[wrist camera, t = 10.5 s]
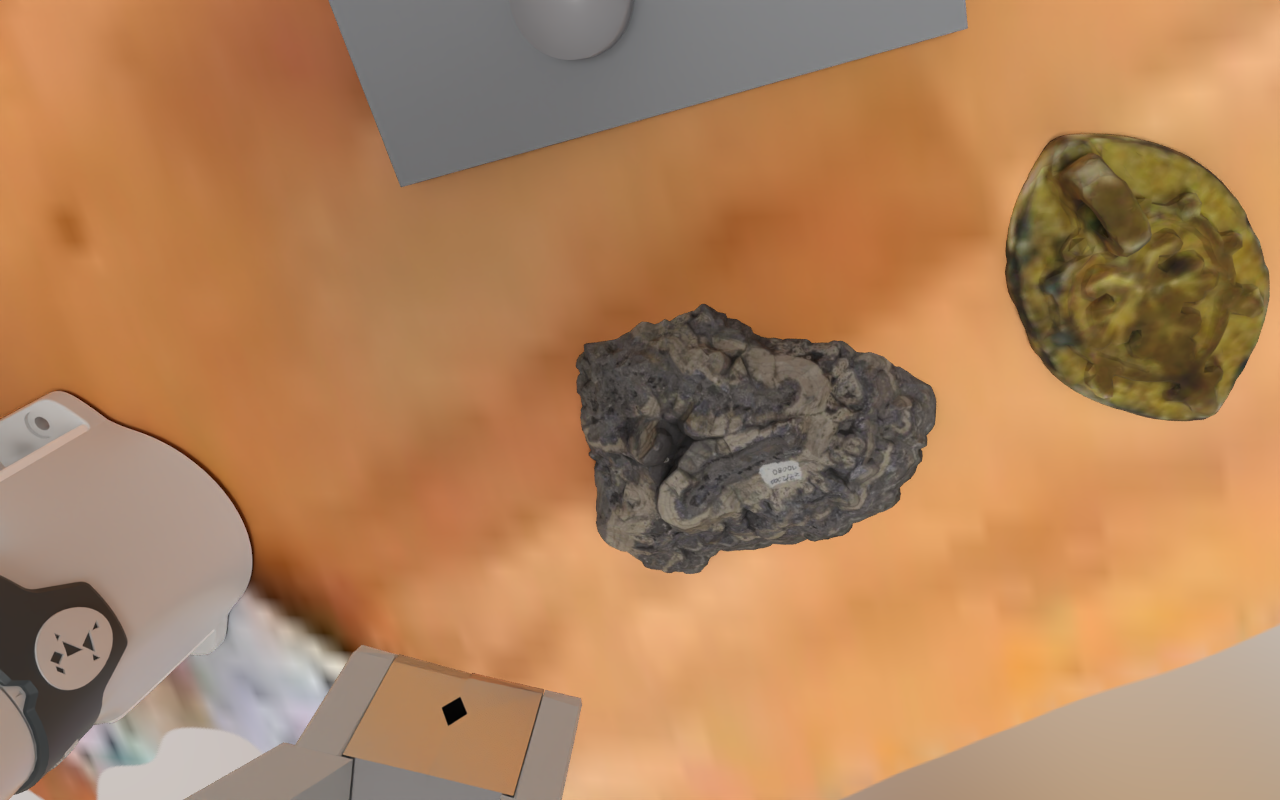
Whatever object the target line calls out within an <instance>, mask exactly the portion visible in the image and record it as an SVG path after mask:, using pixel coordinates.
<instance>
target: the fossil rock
mask: <svg viewBox="0 0 1280 800" xmlns="http://www.w3.org/2000/svg"><path fill="white" fill-rule="evenodd" d="M576 367H577V368H578V369H579V372H580V374H579V376H578V378H577V382H576V383H577V393H578V394H579V395H580V396H581V402H582V408H581V425H582V430H583V432H584V434H585V438H586V441H587V443H588V445H589V447H590V449H591V451H590V452H589V456H590V457H591V458H592V459H594V460H595V461H596V464H595V468H594V469H595V485H596V487H597V500H596V511H597V521H596V524H597V529H598V532H599V534H600V536H601V537H602V539H603V540H604V541H605V542H606V543H607V544H608V545H610V546H612V547H614V548H616V549H618V550H620V551H627V552H628V553H630V554H631V555H633V556H634V557H635V558H637V559H638V560H641V561H642V562H643V564H644V566H645V567H647V568H650V569H656V570H662V571H664V572H666V573H672V572H675V571H677V572H684V573H685V574H694V573H698V572H701V570H702V569H703V568H704V567H705V566H706V565H707V564H708V561H709V559H710V557H712V556H714V555H716V554H717V553H718V551H720V550H723V551H734V550H756V549H758V548H765V547H768V546H771V545H772V544H785V545H786V544H797V543H799V542H802V541H804V540H806V539H809V540H811V541H818V540H823V539H830V538H833V537H837V536H843V535H844V534H846V533H848V532H849V531H850V530H851V528H852V524H853V523H856V522H860V521H862V520H864V519H866V518H868V517H871V516H873V515H876V514H877V513H879V512H883V511H886V510H888V509H890V508H892V507H893V506H894V505H895V504H896V503H897V502H898V501H899V500H900V495H901V493H900V487H901V486H902V485H903V484H904V483H905V482H906V481H908V480H909V479H911V477H912V476H913V475H914V473H915V471H916V468H917V465H918V464H919V463H920V462H922V456H923V455H922V451H921V448H923V447H925V446H927V434H928V433H929V432H930V431H931V430H932V428H933V426H934V425H935V417H936V398H935V395H934V392H933V390H932V387H931V386H930V385H928V384H926V383H924V382H922V381H921V380H919V379H917V378H915V377H914V376H912V375H911V374H910V373H908V372H907V371H905V370H904V369H902V368H901V367H895V366H894V365H893V364H892V363H890V362H889V361H888V360H887V359H886V358H884V357H883V356H880V355H877V354H874V353H871V352H868V353H859V352H856V351H855V350H854V349H853V348H851V347H850V346H849V345H848V344H846V343H845V342H843V341H831V342H829V343H811V342H810V341H809V340H807V339H784V340H782V339H777V338H765V337H760V336H759V335H756V334H754V333H753V332H752V329H751V327H749V326H747V325H745V324H743V323H741V322H740V321H739V320H737V319H730V318H727V316H726V314H724V313H720V312H717V311H715V310H714V309H713V308H711V307H709V306H707V305H706V304H701V305H700V306H699V307H698V308H697V309H696V310H695V311H691V312H688V313H685V314H682V315H679V316H677V317H676V318H674V319H673V320H671V321H670V322H669V321H668V320H665V319H664V320H663V321H661V322H660V323H658V324H652V323H649V322H641V323H639V324H638V325H637V326H636V327H634V328H633V329H632V330H631V331H630V332H628V333H626V334H624V335H622V336H621V337H619V338H618V339H615V340H609V341H603V342H598V343H586V344H585V345H584V352H583V353H582V354H581V355H579V357H578V359H577V362H576Z"/></svg>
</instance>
